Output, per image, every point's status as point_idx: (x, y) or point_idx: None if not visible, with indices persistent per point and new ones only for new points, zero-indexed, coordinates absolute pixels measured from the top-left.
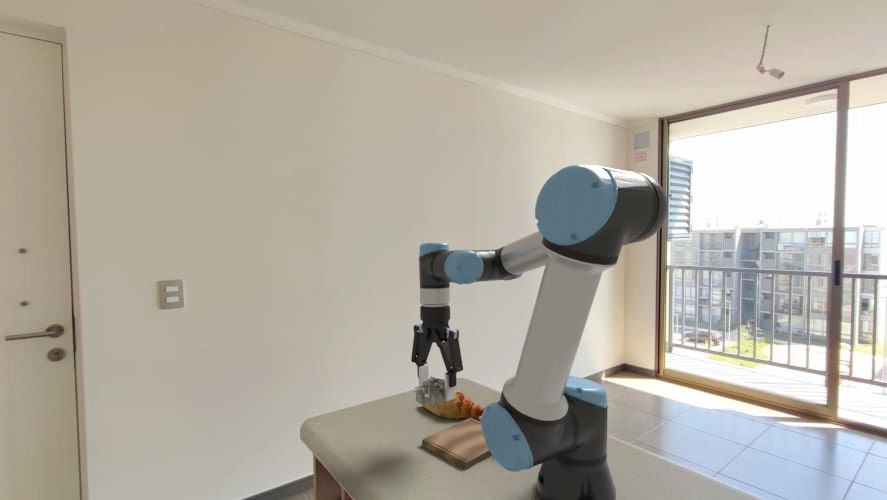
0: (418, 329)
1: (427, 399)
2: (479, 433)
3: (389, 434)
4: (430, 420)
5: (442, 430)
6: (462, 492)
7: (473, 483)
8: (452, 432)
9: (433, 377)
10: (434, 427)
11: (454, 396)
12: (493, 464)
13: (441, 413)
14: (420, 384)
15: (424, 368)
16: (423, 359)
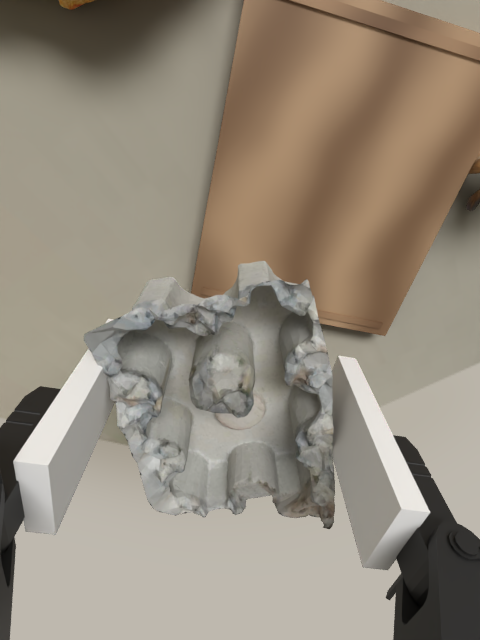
0: None
1: (243, 457)
2: (364, 128)
3: (46, 288)
4: (62, 78)
5: (209, 198)
6: (399, 398)
7: (413, 363)
8: (255, 190)
9: (109, 326)
10: (132, 139)
11: (358, 369)
12: (448, 264)
13: (75, 5)
14: (134, 452)
15: (61, 482)
16: (3, 589)
